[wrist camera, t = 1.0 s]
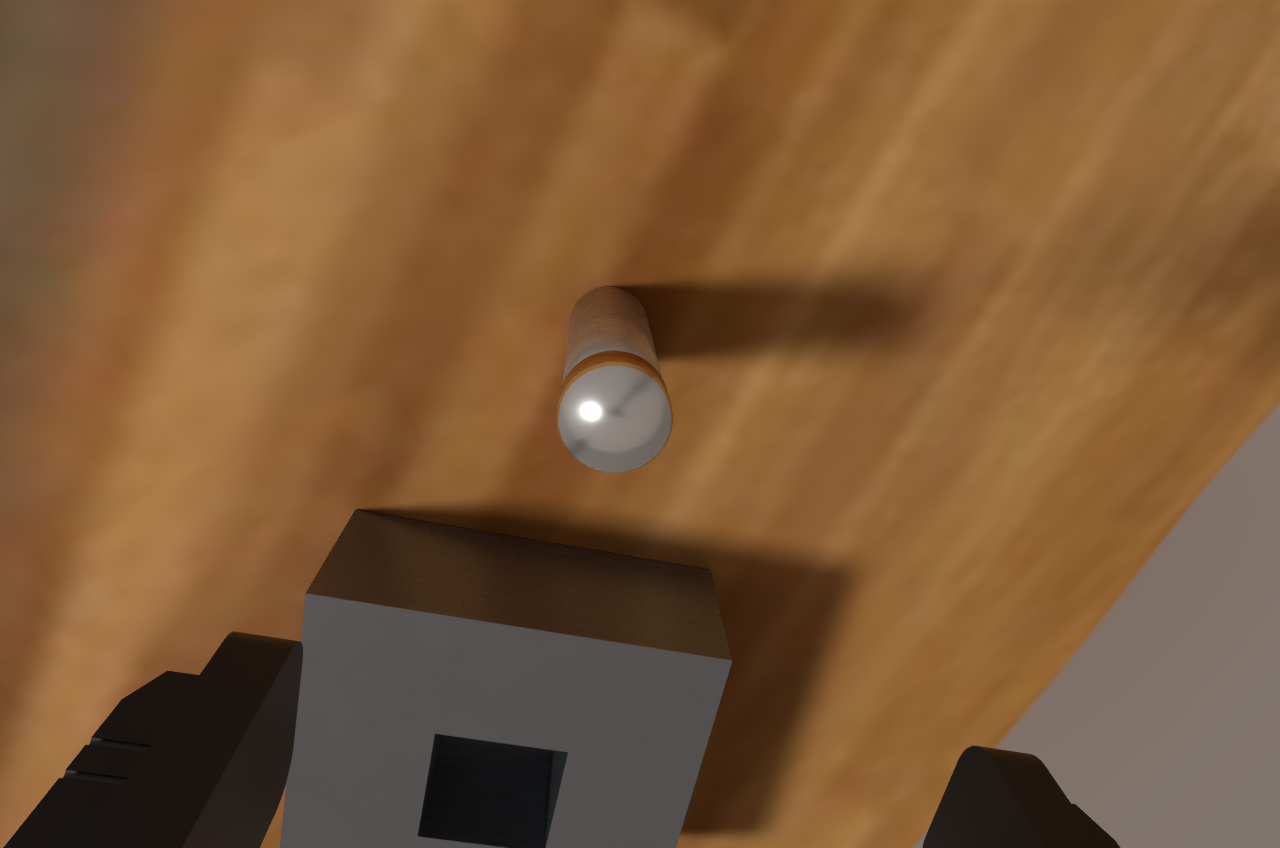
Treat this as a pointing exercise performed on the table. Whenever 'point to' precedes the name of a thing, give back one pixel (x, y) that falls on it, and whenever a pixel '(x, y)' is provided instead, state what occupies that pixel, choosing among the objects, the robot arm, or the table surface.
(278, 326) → the table surface
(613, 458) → the cylinder
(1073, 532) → the table surface
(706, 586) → the bore block
